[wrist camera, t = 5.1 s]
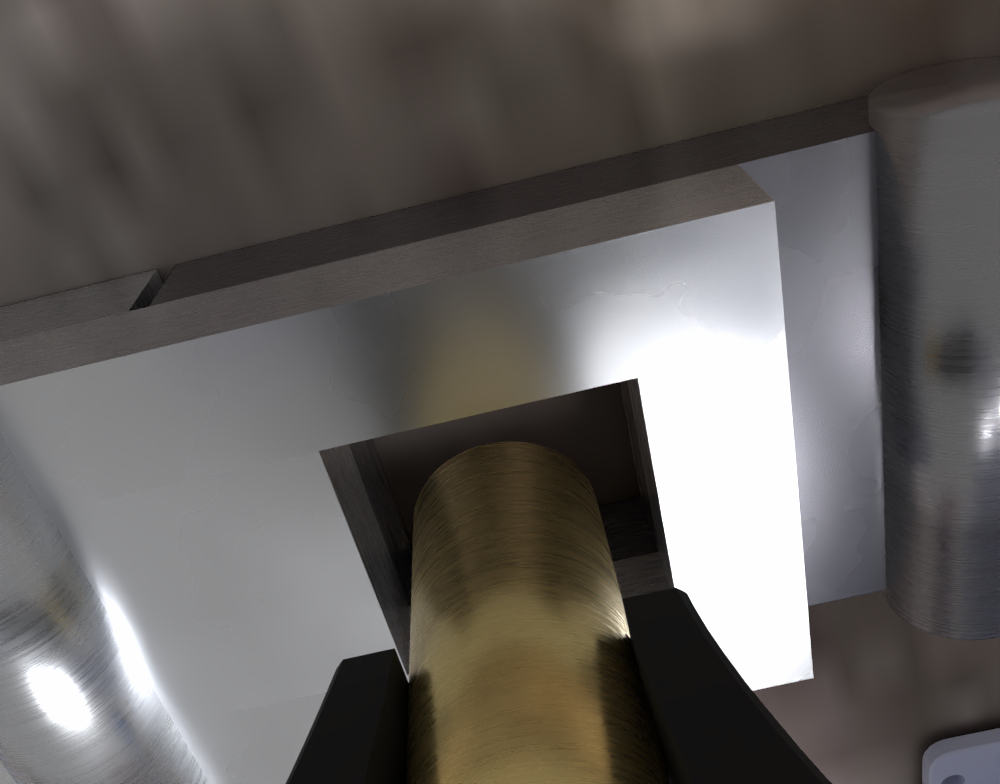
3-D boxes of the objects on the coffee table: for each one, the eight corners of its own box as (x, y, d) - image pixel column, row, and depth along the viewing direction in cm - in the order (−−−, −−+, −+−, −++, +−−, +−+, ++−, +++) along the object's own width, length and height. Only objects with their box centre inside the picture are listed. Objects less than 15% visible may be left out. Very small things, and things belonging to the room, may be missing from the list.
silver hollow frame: (757, 567, 17) (843, 753, 14) (52, 719, 18) (-44, 933, 15) (705, 114, 13) (810, 210, 10) (-211, 338, 14) (-441, 507, 10)
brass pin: (606, 573, 14) (785, 1306, 7) (432, 602, 14) (434, 1357, 7) (587, 427, 12) (786, 1146, 5) (395, 459, 12) (349, 1210, 5)
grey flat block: (1080, 497, 17) (1182, 598, 15) (346, 656, 18) (333, 775, 16) (1134, 9, 13) (1291, 42, 10) (168, 246, 14) (113, 325, 11)
